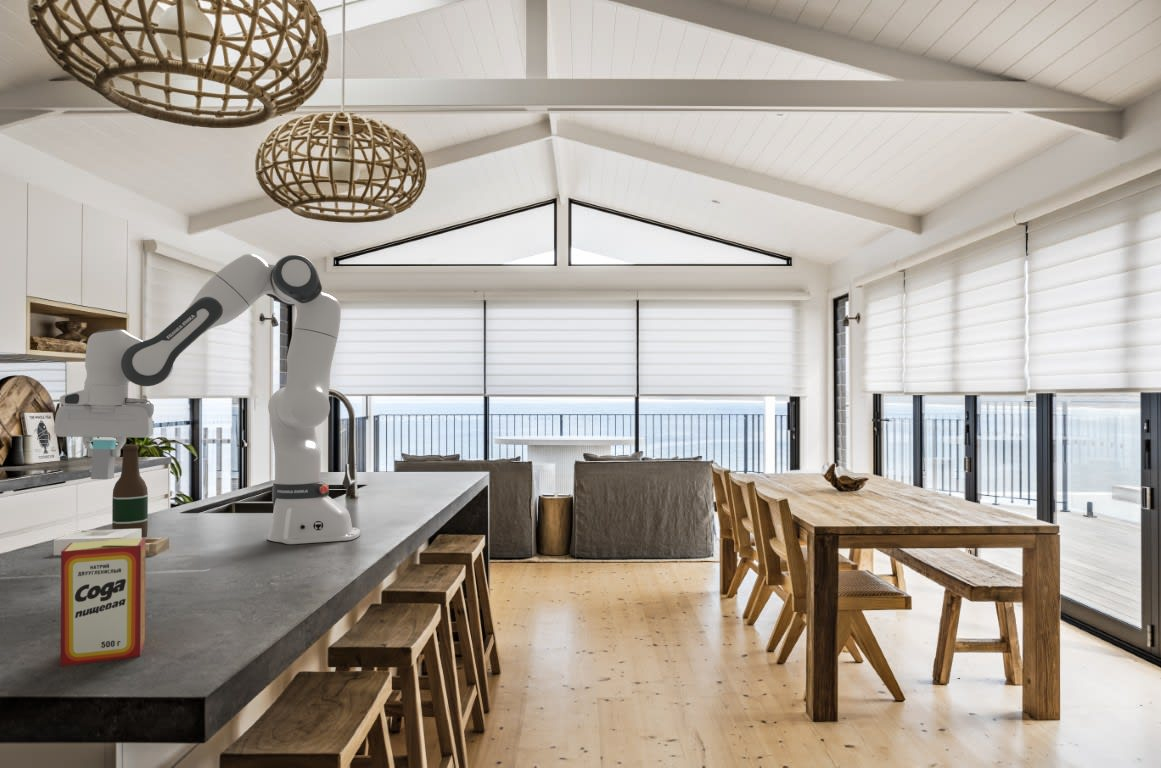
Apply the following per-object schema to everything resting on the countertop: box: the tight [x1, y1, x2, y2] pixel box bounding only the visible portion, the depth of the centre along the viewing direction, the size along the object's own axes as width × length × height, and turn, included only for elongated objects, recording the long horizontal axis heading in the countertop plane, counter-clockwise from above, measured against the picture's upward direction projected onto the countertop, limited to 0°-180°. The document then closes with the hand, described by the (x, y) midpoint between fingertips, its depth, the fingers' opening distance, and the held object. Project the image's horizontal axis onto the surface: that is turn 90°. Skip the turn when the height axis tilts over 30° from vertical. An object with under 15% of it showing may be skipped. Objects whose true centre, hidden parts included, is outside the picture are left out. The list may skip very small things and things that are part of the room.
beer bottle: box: [111, 443, 149, 538], centre depth 196 cm, size 8×8×24 cm
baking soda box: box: [59, 537, 147, 667], centre depth 110 cm, size 10×6×16 cm
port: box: [53, 528, 142, 556], centre depth 181 cm, size 14×12×4 cm
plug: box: [90, 439, 117, 480], centre depth 180 cm, size 4×4×9 cm
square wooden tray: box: [145, 537, 170, 557], centre depth 177 cm, size 8×8×3 cm
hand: (103, 456), depth 180 cm, fingers closed on plug, 3 cm apart
